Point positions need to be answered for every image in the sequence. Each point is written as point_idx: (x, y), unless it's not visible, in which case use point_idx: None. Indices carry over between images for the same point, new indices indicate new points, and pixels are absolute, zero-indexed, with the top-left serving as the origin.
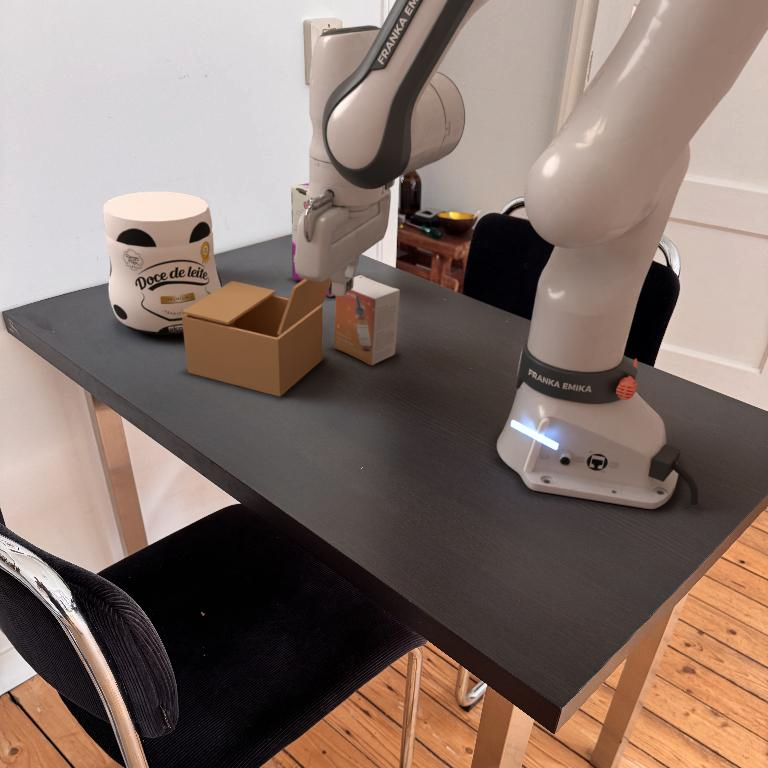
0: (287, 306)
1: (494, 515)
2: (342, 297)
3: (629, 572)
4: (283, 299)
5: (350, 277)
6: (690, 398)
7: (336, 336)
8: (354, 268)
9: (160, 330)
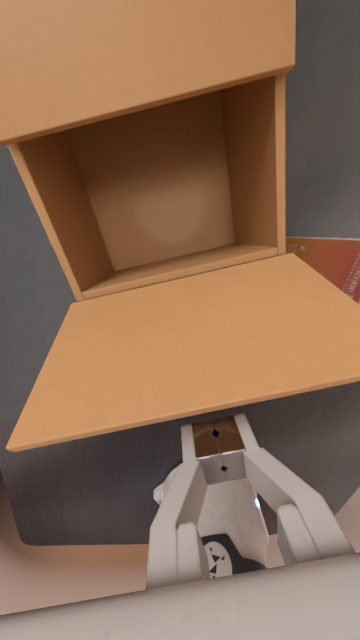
0: (43, 369)
1: (112, 488)
2: (347, 265)
3: (124, 534)
4: (273, 126)
5: (246, 478)
6: (336, 499)
7: (291, 242)
8: (275, 511)
9: None
